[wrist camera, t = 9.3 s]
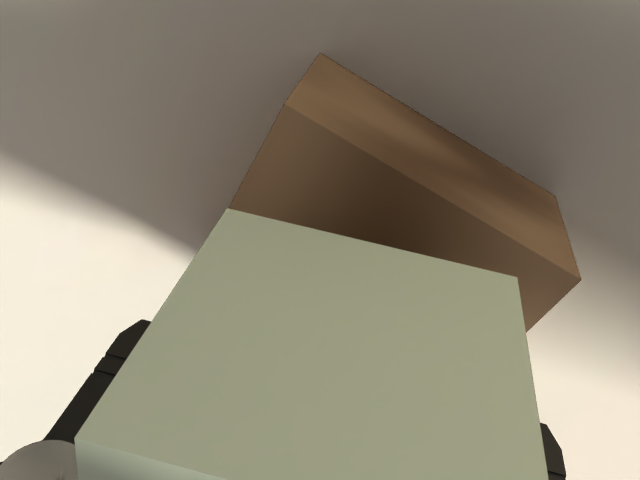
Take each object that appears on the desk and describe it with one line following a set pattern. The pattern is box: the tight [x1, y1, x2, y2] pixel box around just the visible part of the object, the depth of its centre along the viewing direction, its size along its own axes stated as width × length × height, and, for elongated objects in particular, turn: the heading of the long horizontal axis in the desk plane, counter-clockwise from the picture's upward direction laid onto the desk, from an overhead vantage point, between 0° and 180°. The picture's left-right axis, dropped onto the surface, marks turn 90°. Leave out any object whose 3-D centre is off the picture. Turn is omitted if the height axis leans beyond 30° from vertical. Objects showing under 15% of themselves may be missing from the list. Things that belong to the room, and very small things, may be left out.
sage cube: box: [74, 208, 549, 480], centre depth 10 cm, size 6×6×6 cm
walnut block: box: [228, 53, 581, 332], centre depth 16 cm, size 7×7×4 cm
